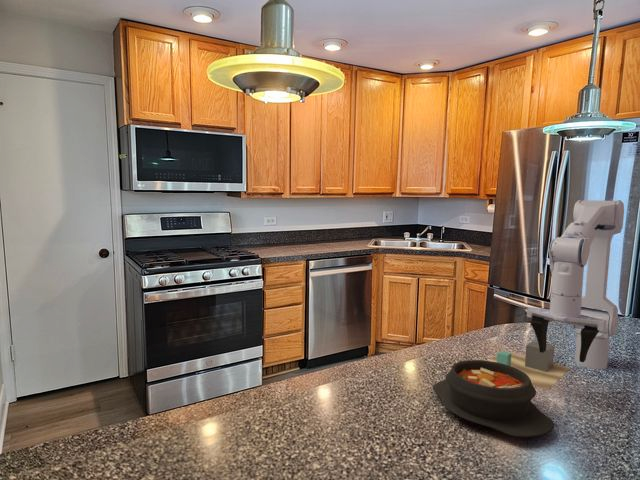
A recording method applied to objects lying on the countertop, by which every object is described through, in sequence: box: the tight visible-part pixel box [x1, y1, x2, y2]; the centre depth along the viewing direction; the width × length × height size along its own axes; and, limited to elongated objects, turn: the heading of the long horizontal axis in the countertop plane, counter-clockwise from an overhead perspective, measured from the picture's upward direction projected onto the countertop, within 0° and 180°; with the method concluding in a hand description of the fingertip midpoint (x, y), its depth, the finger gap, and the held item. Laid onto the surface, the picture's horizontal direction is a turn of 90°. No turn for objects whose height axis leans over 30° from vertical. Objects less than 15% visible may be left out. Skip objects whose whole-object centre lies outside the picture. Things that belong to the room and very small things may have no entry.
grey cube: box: [525, 340, 556, 372], centre depth 108 cm, size 5×5×6 cm
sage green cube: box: [496, 350, 512, 366], centre depth 106 cm, size 3×3×4 cm
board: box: [487, 352, 571, 390], centre depth 107 cm, size 18×17×1 cm
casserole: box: [432, 359, 555, 438], centre depth 85 cm, size 25×19×8 cm
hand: (562, 355), depth 90 cm, fingers open, 7 cm apart
